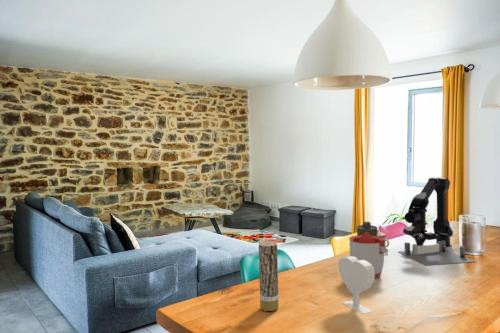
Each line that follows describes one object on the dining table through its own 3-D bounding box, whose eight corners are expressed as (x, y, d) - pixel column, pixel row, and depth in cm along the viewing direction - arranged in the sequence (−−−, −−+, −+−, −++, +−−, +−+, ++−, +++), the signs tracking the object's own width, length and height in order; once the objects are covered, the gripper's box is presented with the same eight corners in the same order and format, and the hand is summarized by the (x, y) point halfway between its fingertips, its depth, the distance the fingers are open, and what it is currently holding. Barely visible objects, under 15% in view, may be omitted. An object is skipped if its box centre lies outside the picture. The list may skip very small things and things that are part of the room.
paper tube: (267, 303, 154) (266, 239, 153) (282, 308, 150) (280, 241, 149) (256, 309, 149) (254, 243, 148) (271, 314, 145) (269, 245, 143)
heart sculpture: (376, 312, 144) (376, 263, 143) (366, 315, 141) (365, 265, 140) (347, 298, 157) (346, 253, 156) (337, 301, 155) (336, 255, 154)
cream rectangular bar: (439, 250, 219) (439, 241, 219) (442, 251, 218) (442, 242, 217) (412, 253, 215) (412, 244, 214) (414, 254, 213) (414, 245, 213)
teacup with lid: (365, 249, 228) (365, 229, 228) (375, 247, 234) (375, 227, 233) (383, 254, 219) (383, 232, 218) (393, 251, 224) (393, 230, 223)
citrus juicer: (381, 284, 172) (381, 238, 171) (343, 276, 183) (343, 233, 182) (393, 274, 185) (393, 231, 184) (357, 268, 195) (356, 227, 194)
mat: (443, 249, 226) (443, 248, 226) (475, 262, 200) (475, 261, 200) (398, 252, 221) (398, 251, 221) (426, 265, 196) (426, 265, 196)
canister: (380, 263, 203) (380, 223, 202) (359, 263, 203) (359, 224, 202) (374, 257, 213) (373, 219, 212) (354, 257, 214) (354, 220, 213)
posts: (448, 251, 221) (448, 239, 220) (466, 258, 207) (466, 245, 206) (404, 254, 217) (404, 242, 216) (419, 261, 203) (419, 249, 202)
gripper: (395, 218, 222) (395, 246, 223) (421, 225, 205) (421, 255, 205) (411, 217, 226) (410, 244, 227) (438, 223, 209) (437, 252, 210)
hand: (419, 249), depth 217 cm, fingers closed
